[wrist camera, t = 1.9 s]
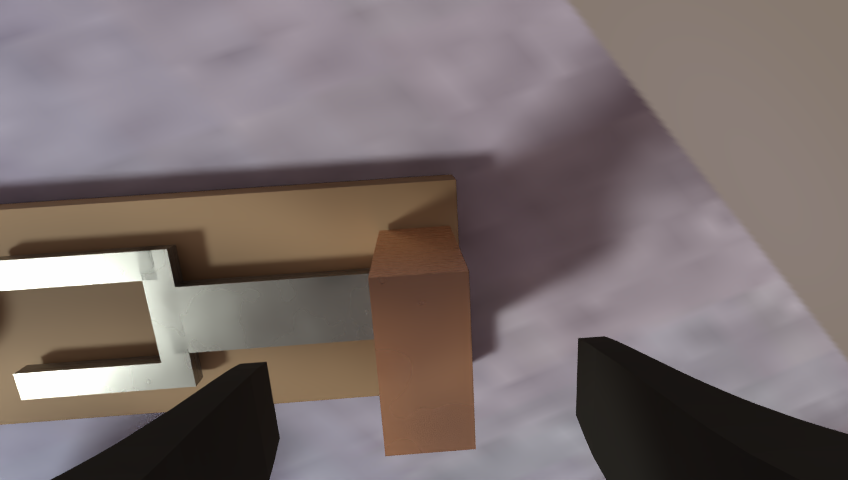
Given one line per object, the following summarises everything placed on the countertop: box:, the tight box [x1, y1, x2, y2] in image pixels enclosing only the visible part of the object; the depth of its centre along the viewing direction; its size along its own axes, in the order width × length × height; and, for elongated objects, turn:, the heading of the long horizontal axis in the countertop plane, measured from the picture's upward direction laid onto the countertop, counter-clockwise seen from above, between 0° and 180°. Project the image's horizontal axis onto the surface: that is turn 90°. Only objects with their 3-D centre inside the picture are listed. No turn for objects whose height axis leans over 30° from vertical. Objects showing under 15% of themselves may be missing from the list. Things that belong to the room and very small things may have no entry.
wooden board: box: [0, 174, 459, 425], centre depth 17 cm, size 8×22×2 cm, turn 94°
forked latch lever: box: [0, 226, 476, 456], centre depth 14 cm, size 5×16×5 cm, turn 93°
